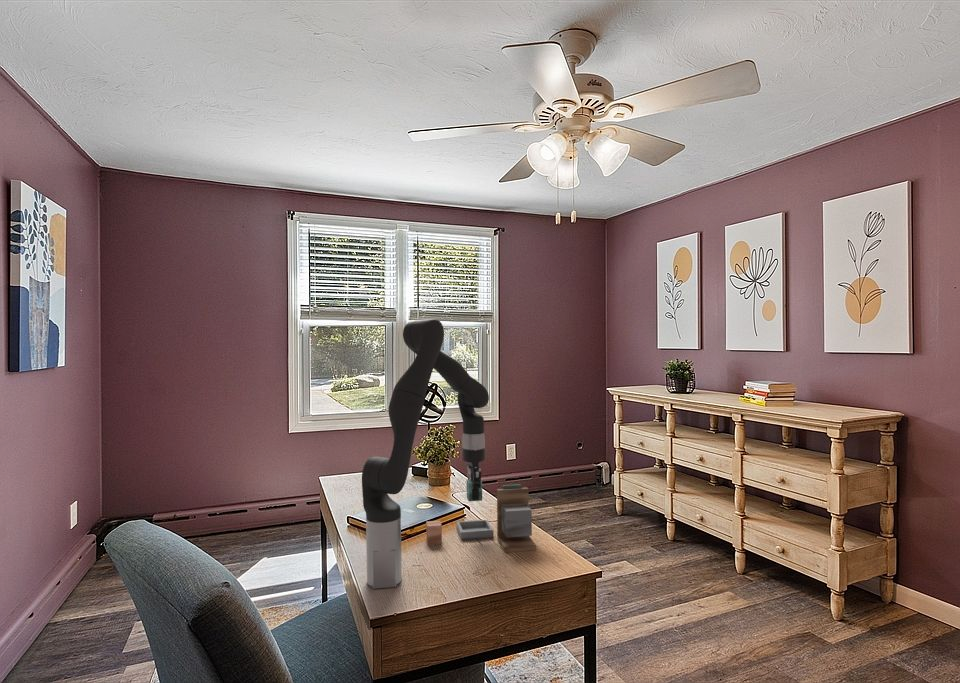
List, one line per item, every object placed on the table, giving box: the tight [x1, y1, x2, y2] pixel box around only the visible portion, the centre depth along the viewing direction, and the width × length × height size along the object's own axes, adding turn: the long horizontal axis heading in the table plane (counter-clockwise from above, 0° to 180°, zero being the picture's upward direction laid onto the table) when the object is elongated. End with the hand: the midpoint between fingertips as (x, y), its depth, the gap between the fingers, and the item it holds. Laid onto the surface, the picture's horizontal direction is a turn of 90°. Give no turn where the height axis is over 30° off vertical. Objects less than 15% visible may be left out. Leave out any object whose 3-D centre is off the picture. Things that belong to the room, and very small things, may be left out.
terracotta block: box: [425, 520, 443, 546], centre depth 182 cm, size 4×4×6 cm
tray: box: [456, 519, 494, 541], centre depth 189 cm, size 11×11×2 cm
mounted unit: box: [496, 483, 537, 553], centre depth 178 cm, size 10×10×18 cm
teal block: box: [466, 479, 483, 502], centre depth 189 cm, size 4×4×6 cm
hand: (474, 497), depth 189 cm, fingers closed on teal block, 4 cm apart
